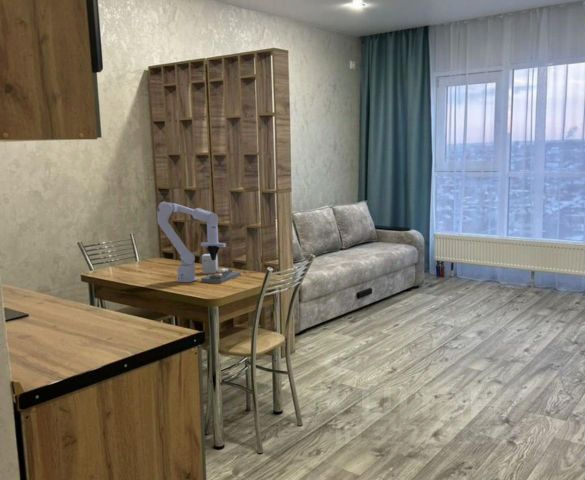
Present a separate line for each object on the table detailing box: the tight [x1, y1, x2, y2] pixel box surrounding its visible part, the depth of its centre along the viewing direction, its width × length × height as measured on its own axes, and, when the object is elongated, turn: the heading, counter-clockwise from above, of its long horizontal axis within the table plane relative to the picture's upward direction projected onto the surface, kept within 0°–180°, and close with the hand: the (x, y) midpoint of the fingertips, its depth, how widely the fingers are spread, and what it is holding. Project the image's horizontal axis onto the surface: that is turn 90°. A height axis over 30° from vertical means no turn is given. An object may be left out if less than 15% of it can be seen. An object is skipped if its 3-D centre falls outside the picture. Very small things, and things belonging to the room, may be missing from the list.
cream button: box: [217, 267, 225, 273], centre depth 306 cm, size 4×4×2 cm
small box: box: [201, 253, 219, 275], centre depth 324 cm, size 8×6×10 cm
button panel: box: [200, 268, 242, 284], centre depth 307 cm, size 21×12×3 cm, turn 156°
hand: (213, 259), depth 309 cm, fingers closed
